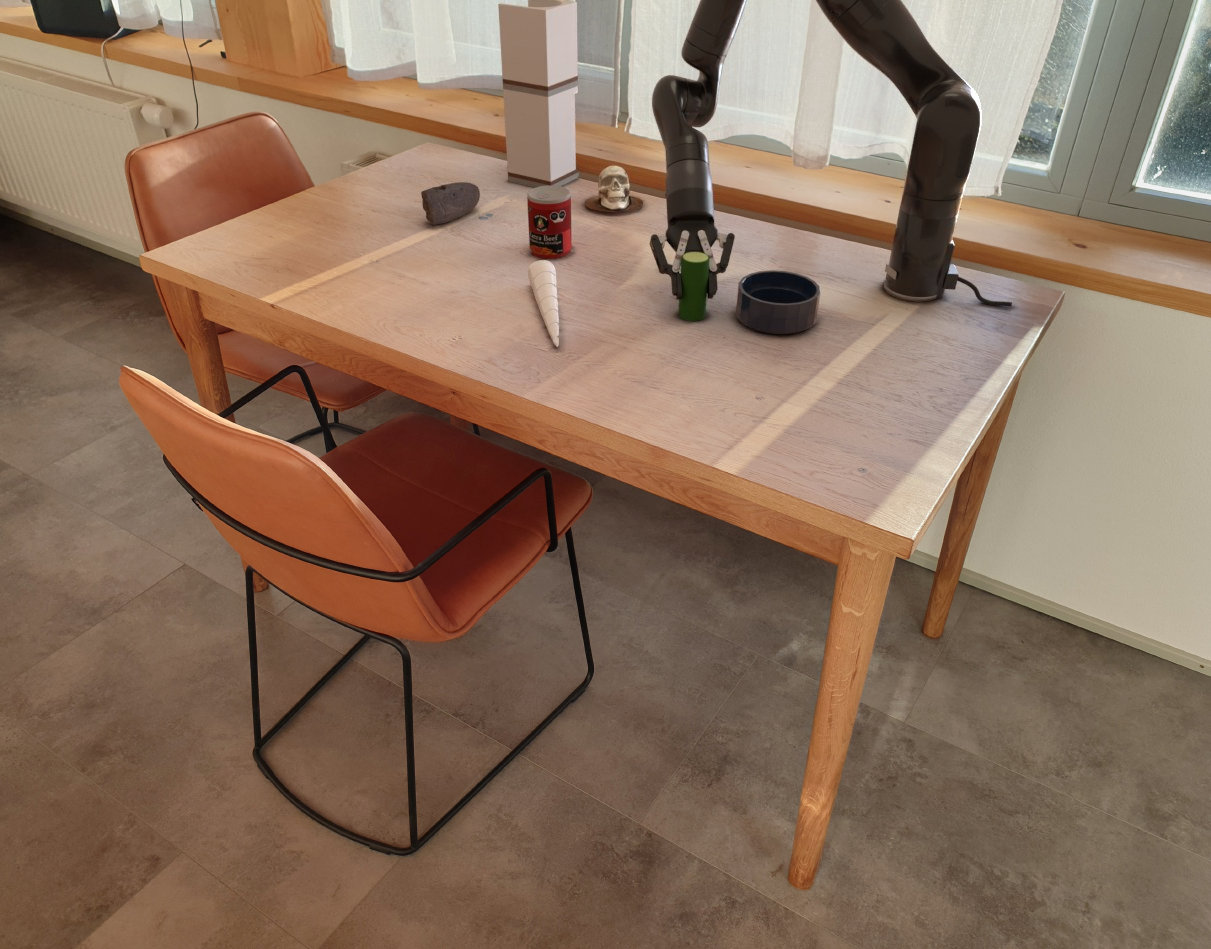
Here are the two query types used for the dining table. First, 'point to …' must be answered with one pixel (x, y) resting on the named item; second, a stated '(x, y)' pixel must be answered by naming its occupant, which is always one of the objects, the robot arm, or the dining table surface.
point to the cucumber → (694, 286)
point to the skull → (613, 192)
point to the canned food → (549, 221)
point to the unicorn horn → (546, 295)
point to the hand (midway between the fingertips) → (695, 297)
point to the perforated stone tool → (449, 201)
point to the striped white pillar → (540, 90)
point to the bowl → (777, 302)
